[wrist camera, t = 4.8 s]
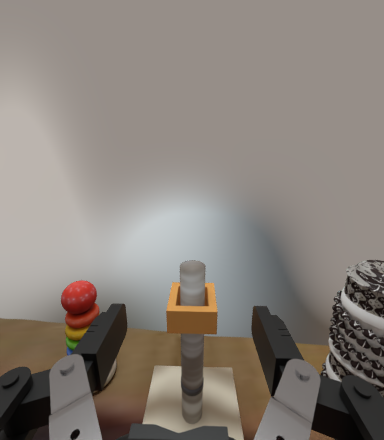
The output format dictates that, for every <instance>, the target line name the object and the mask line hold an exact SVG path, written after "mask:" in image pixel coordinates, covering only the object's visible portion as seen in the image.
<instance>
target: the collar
mask: <svg viewBox="0 0 384 440" xmlns="http://www.w3.org/2000/svg"><path fill="white" fill-rule="evenodd" d="M166 313H167V333H181V334H217V305H216V298H215V290H214V284H213V283H205V306H180V283H174V282H173V283H172V288H171V292H170V297H169V301H168V306H167V311H166Z"/></svg>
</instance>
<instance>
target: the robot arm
mask: <svg viewBox="0 0 384 440" xmlns="http://www.w3.org/2000/svg"><path fill="white" fill-rule="evenodd" d="M126 332H127V317H126V307H125V304H111V306H110V307H109V309H108V310H107V312H102V313H101V314H100V315H98V316H97V317H96V318H95V319H94V320H93V322H92V323H91V325H90V327H89V328H88V329H87V331H86V333H85V334H84V335H83V337H82V338H81V340H80V341H79V343H78V344H77V346H76V347H75V349H74V350H73V352H72V353H71V355H68V356H66V357H64V358H62V359H60V360H59V361H58V362H57V363H56V364H55V365H54V366H53V367H52V369H49V370H46V371H42V372H38V373H35V374H31V371H30V369H29V368H27V367H18V368H15V369H12V370H10V371H8V372H7V373H5V374H4V375H2V376H1V377H0V440H32V438H33V436H34V434H35V433H36V431H37V429H38V428H39V427H42V426H45V425H48V424H49V435H50V440H102V437H101V433H100V428H99V424H98V419H97V415H96V411H95V406H94V402H93V398H92V395H93V392H94V391H102V390H103V387H104V385H105V383H106V380H107V378H108V376H109V373H110V371H111V369H112V366H113V364H114V361H115V359H116V357H117V354H118V352H119V350H120V347H121V345H122V343H123V340H124V338H125V335H126ZM252 336H253V340H254V343H255V346H256V350H257V353H258V356H259V359H260V362H261V366H262V369H263V372H264V375H265V378H266V381H267V385H268V388H269V391H270V394H271V396H272V397H271V398H270V401H269V403H268V405H267V408H266V410H265V413H264V415H263V418H262V420H261V423H260V425H259V428H258V430H257V433H256V436H255V438H254V440H309V437H310V432H311V429H312V430H314V431H317V432H319V433H322V434H324V435H327V436H329V437H332V438H334V439H335V440H384V398H383V397H382V395H381V394H380V393H379V391H378V390H377V389H376V388H375V387H374V386H373V385H372V384H370V383H369V382H367V381H366V380H364V379H362V378H360V377H357V376H354V375H347V376H344V377H343V378H342V381H341V382H340V381H337V380H333V379H330V378H327V377H324V376H322V375H320V374H318V372H317V371H316V369H315V368H314V367H313V366H312V365H310V364H309V363H307V362H306V361H304V359H303V357H302V355H301V353H300V352H299V350H298V348H297V346H296V344H295V342H294V341H293V339H292V337H291V335H290V333H289V331H288V330H287V328H286V326H285V324H284V322H283V321H282V320H281V319H280V318H279V317H278V316H277V315H271V314H270V312H269V310H268V308H267V306H254V307H253V316H252ZM273 396H274V397H273ZM116 440H235V439H234V438H231V437H229V436H228V428H227V427H226V426H201V427H198V428H195V429H191V430H188V431H185V432H181V433H177V432H174V431H171V430H169V429H166V428H163V427H161V426H158V425H156V424H132V425H131V429H130V433H129V434H126V435H124V436H122V437H120V438H118V439H116Z"/></svg>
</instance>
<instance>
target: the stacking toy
mask: <svg viewBox="0 0 384 440" xmlns="http://www.w3.org/2000/svg"><path fill="white" fill-rule="evenodd" d="M96 297H97V293H96V289H95V287H94V285H93V284H91V283H90V282H88V281H76V282H73V283H71V284H70V285H69V286H67V287H66V289H65V290H64V291H63V293H62V296H61V304H62V306H63V308H64V309H65V310H66V311H67V314H66V317H65V321H66V324H67V326H66V329H65V334H66V336H67V337H66V344H67V346H68V347H67V355H71V353H72V352H73V350H74V349H75V347H76V346H77V344H78V343H79V341H80V340H81V338H82V337H83V335H84V334H85V333H86V331H87V329H88V328H89V327H90V325H91V323H92V322H93V320H94V319H95V318H96V317H97V316H98V315H100V314H99V307H98V305H97V304H95V300H96ZM116 364H117V363H116V359H115V361H114V364H113V366H112V369H111V371H110V373H109V376H108V378H107V380H106V383H105V385H106V384H107V383H108V382H109V381H110V380H111V378H112V377H113V375H114V373H115V370H116ZM105 385H104V386H105ZM95 392H97V391H94V392H93V393H95Z"/></svg>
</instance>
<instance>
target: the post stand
mask: <svg viewBox="0 0 384 440" xmlns="http://www.w3.org/2000/svg"><path fill="white" fill-rule="evenodd" d="M180 306H205V264H203V263H202V262H200V261H195V260H191V261H185V262H183V263H182V264H181V265H180ZM203 353H204V334H181V366H155V367H154V372H153V377H152V381H151V386H150V391H149V396H148V400H147V405H146V410H145V414H144V419H143V424H156V425H158V426H161V427H163V428H166V429H169V430H171V431H174V432H177V433H181V432H185V431H188V430H191V429H195V428H198V427H201V426H226V427H227V428H228V436H229V437H231V438H234V439H235V440H244V438H243V432H242V426H241V420H240V414H239V408H238V402H237V396H236V390H235V384H234V378H233V371H232V368H219V367H203Z"/></svg>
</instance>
